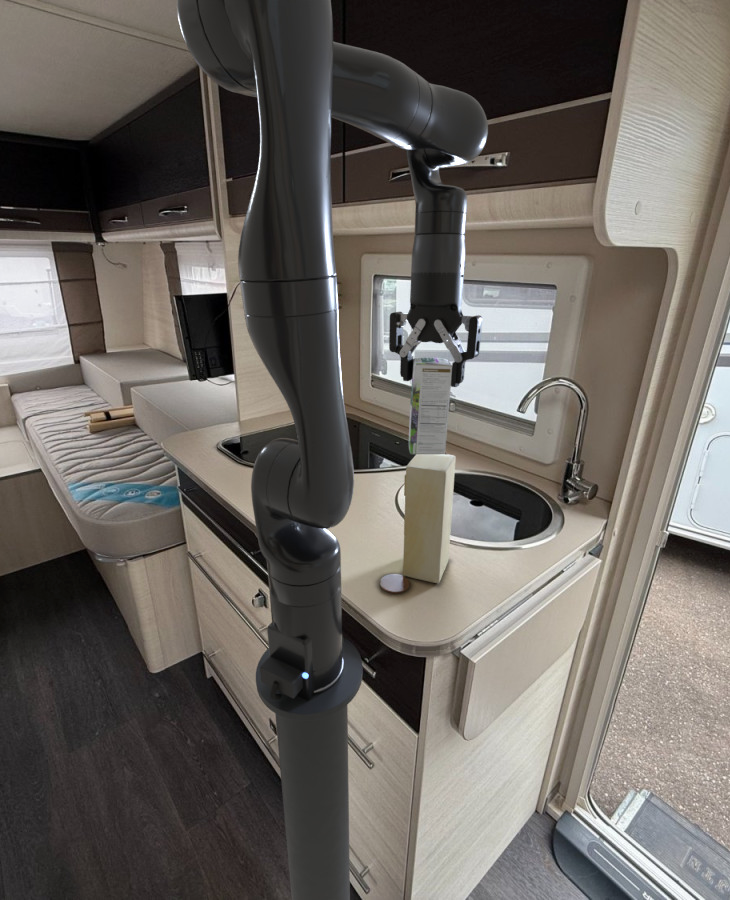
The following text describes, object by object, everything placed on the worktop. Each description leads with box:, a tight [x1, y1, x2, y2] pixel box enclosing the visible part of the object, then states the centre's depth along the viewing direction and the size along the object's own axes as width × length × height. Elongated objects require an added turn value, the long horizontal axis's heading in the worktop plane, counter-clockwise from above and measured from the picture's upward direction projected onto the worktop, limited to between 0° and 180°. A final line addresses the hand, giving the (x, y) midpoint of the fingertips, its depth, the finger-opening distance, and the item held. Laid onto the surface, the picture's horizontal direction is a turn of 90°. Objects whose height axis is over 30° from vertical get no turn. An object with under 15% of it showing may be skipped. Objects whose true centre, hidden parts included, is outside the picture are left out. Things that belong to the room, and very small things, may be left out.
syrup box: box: [408, 356, 452, 455], centre depth 74 cm, size 6×6×14 cm
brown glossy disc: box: [379, 573, 410, 595], centre depth 80 cm, size 5×5×1 cm
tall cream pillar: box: [402, 453, 457, 584], centre depth 81 cm, size 8×7×21 cm
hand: (431, 383), depth 73 cm, fingers closed on syrup box, 7 cm apart
